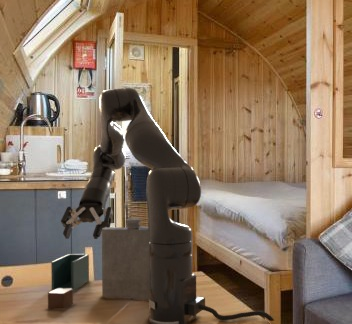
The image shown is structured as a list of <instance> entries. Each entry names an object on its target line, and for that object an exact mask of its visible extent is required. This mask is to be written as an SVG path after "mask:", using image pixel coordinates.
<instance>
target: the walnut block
mask: <svg viewBox="0 0 352 324" xmlns="http://www.w3.org/2000/svg"><path fill="white" fill-rule="evenodd" d="M73 304H74V291H73V289H66V288H57V289H55V290H51V291H49V292H47V308H48V309H59V310H60V309H61V310H62V309H63V310H64V309H66V308H68V307H69V306H72V305H73Z"/></svg>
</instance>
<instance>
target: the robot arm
mask: <svg viewBox="0 0 352 324" xmlns="http://www.w3.org/2000/svg"><path fill="white" fill-rule="evenodd" d="M99 119H100V130H101V137H100V143H99V145H97V146H96V147H95V148H94V150H93V152H92V170H91V174H90V176H89V178H88V180H87V183H86V185H85V187H84V189H83V192H82V194H81V198H80V200H79V203H78V206H77V207H76V208H72V207H71V206H67V207H66V208H65V211H64V214H63V215H62V218H61V220H60V223H61V225H62V226H63V228H64V229H63V232H62V234H63V236H64V238H65V240H69V239H70V237H71V234H72V231H73V229H74V227H76V226H79V225H80V224H81V223H93V222H95V223H96V225H95V228H94V229H93V233H92V237H93V239H94V240H98V239H99V238H100V237H101V236H102V228H111V224H112V221H113V216H114V211H113V209H112V207H111V206H108V207H107V208H106V204H107V202H108V199H109V196H110V193H111V187H112V184H113V181H114V178H115V172H114V171H115V170H116V171H117V170H120V169H122V168H123V167H124V165H125V163H126V152H125V149H124V143H125V144H126V146H127V147H128V149H129V151H130V153H131V155H132V156H133V157H134V158H135V160H136V161H138V162H139V163H141V165H143V166H145V167H146V168H149V169H150V170H149V172H148V174H147V178H146V184H145V186H146V187H145V188H146V189H145V191H146V192H145V193H146V207H147V227H148V228H149V241H150V242H149V255H150V256H149V265H150V300H149V301H148V308H149V315H148V317H149V318H148V319H149V323H150V324H190V323H191V322H192V321H193V320H195V318H197V315H198V314H199V313H201V312H202V311H204V312H208V313H210V314H212V316H213V317H214V318H215V319H217V320H219V321H231V320H237V319H240V318H248V317H256V316H260V317H263V318H265V319H266V320H267V321H270V322H273V321H275V319H274V318H273V316H272V315H270V314H269V313H267V312H265V311H262V310H251V311H246V312H245V311H244V312H238V313H235V314H228V315H227V314H225V315H222V314H220V313H219V312H218V311H217V310H216V309H214V308H212V307H210V306H207V305H206V297H202V296H197V275H196V273H193V229H192V227H190V226H189V225H186V224H182V223H179V222H176V221H174V220H173V219H171V217H170V212H169V211H172V210H184V209H190V208H193V207H195V206H196V205H197V204H198V203H199V201H200V200H201V197H202V186H201V181H200V179H199V177H198V175H197V173H196V171H195V170H194V169H193V167H192V166H191V165H190V164H188V162H187V161H186V160H185V159H184V158H183V157H182V156H181V155H180V154H179V153H178V152H177V150H176V149H175V148H174V147H173V146H172V144H171V142H170V141H169V140H168V138H167V137H166V135H165V133H164V132H163V131H162V129H161V128H160V126H159V125H158V124H157V122H155V120H154V119H153V117H152V115H151V114H150V112H149V111H148V109H147V107H146V105H145V102H144V101H143V99H142V97H141V95H140V93H139V92H138V91H137V90H136V89H135V88H132V87H122V88H110V89H106V90H103V91H102V92H101V93H100V95H99ZM127 121H130V122H129V123H128V125H127V127H126V129H125V132H124V130H123V129H122V128H121V126H120V125H118V124H117V123H119V122H127ZM103 215H104V220H103V221H102V220H101V217H102V216H103Z"/></svg>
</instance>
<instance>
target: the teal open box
mask: <svg viewBox="0 0 352 324" xmlns="http://www.w3.org/2000/svg"><path fill="white" fill-rule="evenodd" d="M50 265H51V267H50V269H51V270H50V273H51V291H53V290H55V289H57V288H66V289H73V292H74V291H76V290H77V289H78V288H80V287H82V286H83V285H85V284H87V283H88V282H90V254H89V253H87V254H85V253H68V254H65V255H63V256H61V257H59V258H57V259H55V260H52V261H51V263H50Z"/></svg>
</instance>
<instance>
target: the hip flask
mask: <svg viewBox="0 0 352 324" xmlns="http://www.w3.org/2000/svg"><path fill="white" fill-rule="evenodd" d="M141 222H142V219H141V218H135V217H133V218H126V219H125V223H126V227H108V228H107V227H104V228H102V232H101V281H102V282H101V285H102V286H101V288H102V289H101V290H102V291H101V293H102V295H101V296H102V298H128V299H130V300H131V301H132V300H135V301H147V302H149V300H150V265H149V256H150V255H149V242H150V241H149V228H148V226H142V225H141V224H140V223H141Z"/></svg>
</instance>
